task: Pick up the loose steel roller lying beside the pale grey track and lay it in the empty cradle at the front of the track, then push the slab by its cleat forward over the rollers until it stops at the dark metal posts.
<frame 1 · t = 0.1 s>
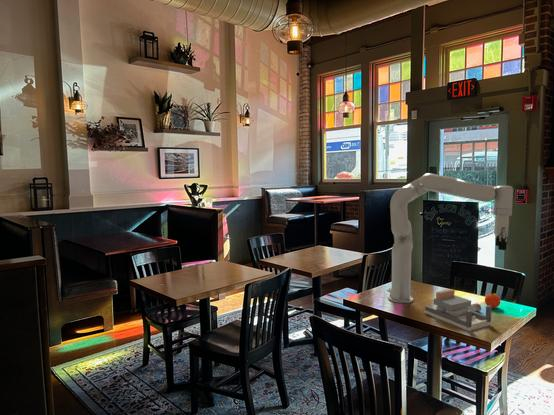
hand: (500, 247, 195), 31 cm above the table, tool pointing down, fingers open, 9 cm apart
slab: (452, 299, 190), point 9 cm above the table, slide at 0.0 cm
roller track: (456, 318, 188), on the table
clementine: (492, 307, 204), on the table
loose roller: (471, 313, 196), on the table
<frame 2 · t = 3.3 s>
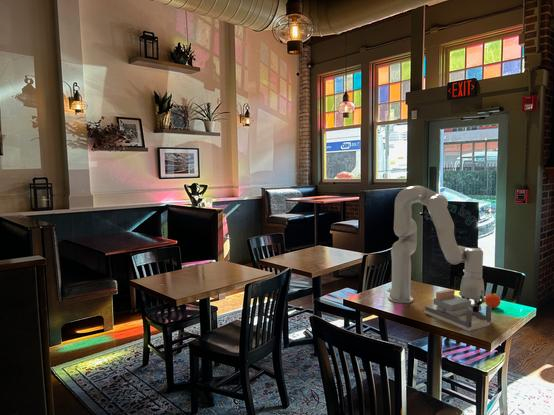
hand: (471, 311, 196), 1 cm above the table, tool pointing down, fingers closed on loose roller, 4 cm apart
loose roller: (471, 312, 196), on the table, touching gripper
everything else where it was.
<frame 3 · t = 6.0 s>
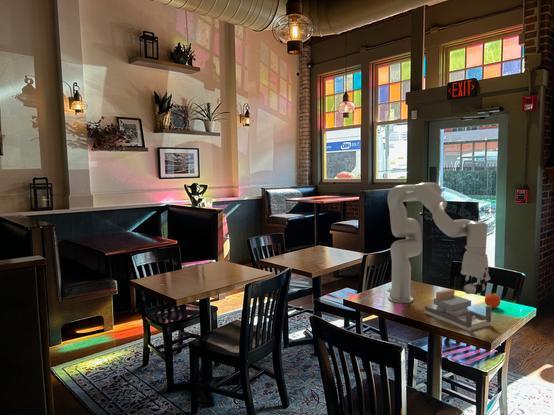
hand: (474, 290, 180), 15 cm above the table, tool pointing down, fingers closed on loose roller, 4 cm apart
loose roller: (474, 292, 180), point 15 cm above the table, touching gripper
everything else where it was.
when the fingers open (3 cm above the table, at t = 8.6 s): loose roller drops 1 cm, resting on roller track.
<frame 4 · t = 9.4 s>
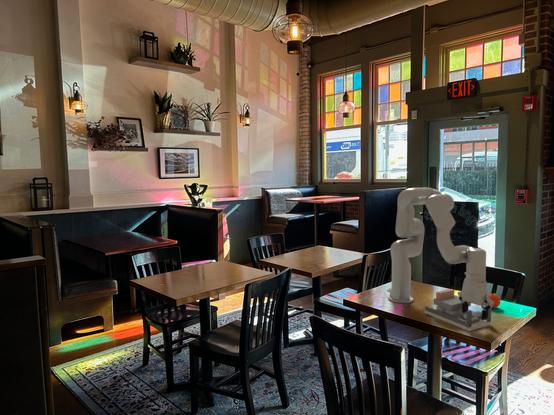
hand: (474, 315, 180), 5 cm above the table, tool pointing down, fingers open, 9 cm apart
slab: (452, 299, 190), point 9 cm above the table, slide at 0.0 cm, touching gripper
loose roller: (472, 321, 181), point 2 cm above the table, tilted 10°, touching roller track
everything else where it was.
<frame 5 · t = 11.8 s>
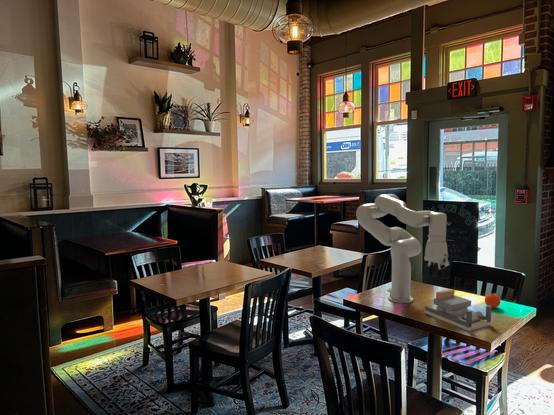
hand: (435, 275, 198), 17 cm above the table, tool pointing down, fingers open, 4 cm apart
slab: (452, 299, 190), point 9 cm above the table, slide at 0.0 cm
loose roller: (472, 321, 181), point 1 cm above the table, touching roller track
everything else where it was.
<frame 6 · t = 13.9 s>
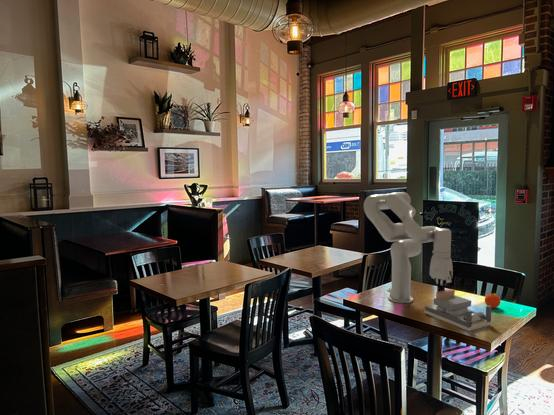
hand: (440, 292, 195), 10 cm above the table, tool pointing down, fingers closed
slab: (452, 299, 190), point 9 cm above the table, slide at 0.0 cm, touching gripper
loose roller: (472, 321, 181), point 2 cm above the table, tilted 22°, touching roller track
everything else where it was.
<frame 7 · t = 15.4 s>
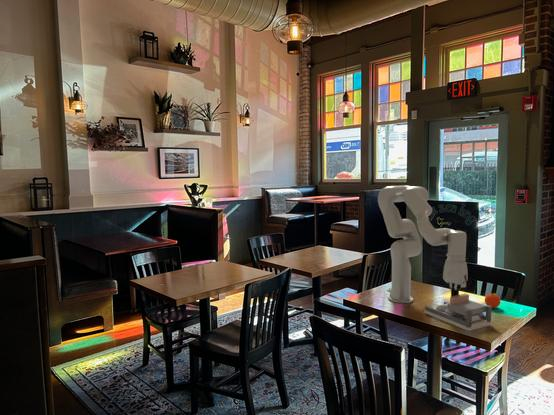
hand: (454, 297, 189), 10 cm above the table, tool pointing down, fingers closed
slab: (467, 304, 183), point 9 cm above the table, slide at 7.9 cm, touching gripper
loose roller: (472, 321, 181), point 2 cm above the table, tilted 16°, touching roller track
everything else where it was.
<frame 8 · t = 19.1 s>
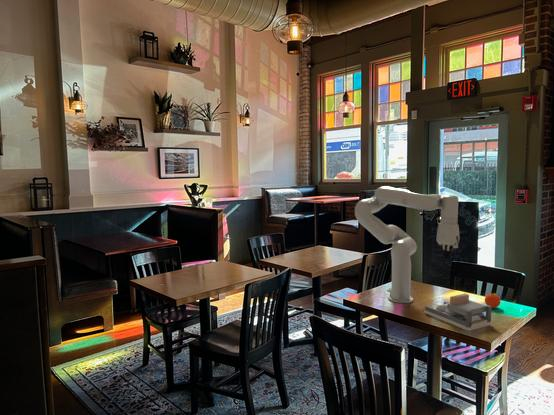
hand: (447, 258, 200), 25 cm above the table, tool pointing down, fingers closed
slab: (467, 304, 183), point 9 cm above the table, slide at 7.8 cm
everything else where it was.
at the end: slab slide at 7.8 cm; loose roller 0.0 cm from the target spot on the roller track, point 1.6 cm above the roller track's base; the gripper is holding nothing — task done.
